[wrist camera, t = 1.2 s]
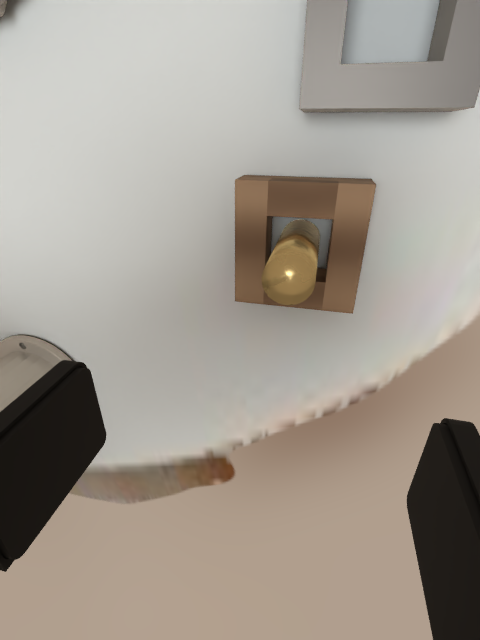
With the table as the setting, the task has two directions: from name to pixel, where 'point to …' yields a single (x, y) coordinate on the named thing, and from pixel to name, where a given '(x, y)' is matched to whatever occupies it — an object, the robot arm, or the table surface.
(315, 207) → the walnut mount
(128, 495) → the table surface
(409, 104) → the charcoal dock
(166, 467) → the table surface
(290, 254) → the brass pin
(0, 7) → the light grey piece
